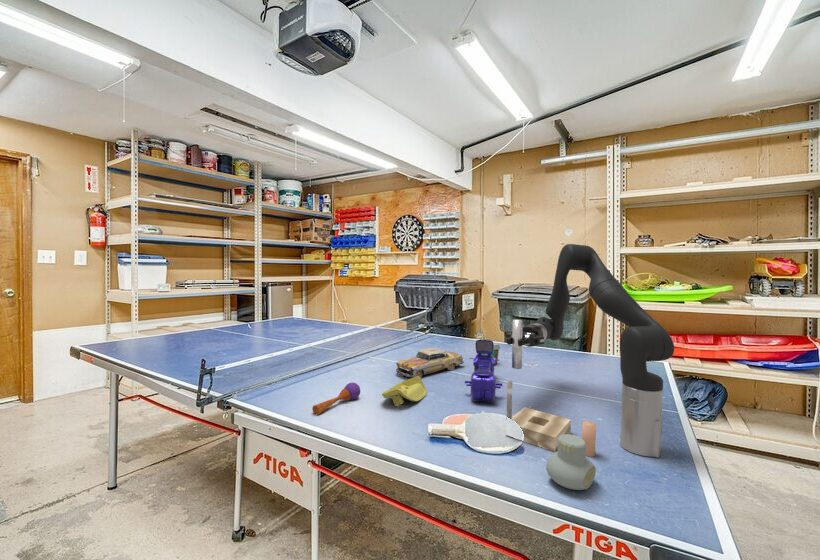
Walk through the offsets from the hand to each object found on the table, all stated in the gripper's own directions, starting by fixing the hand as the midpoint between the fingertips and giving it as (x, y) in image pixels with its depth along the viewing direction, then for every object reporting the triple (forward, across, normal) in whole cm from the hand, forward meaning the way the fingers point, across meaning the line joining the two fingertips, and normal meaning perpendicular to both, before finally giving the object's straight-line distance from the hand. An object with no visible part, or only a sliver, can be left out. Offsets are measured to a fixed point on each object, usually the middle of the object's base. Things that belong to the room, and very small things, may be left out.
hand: (513, 342), depth 120 cm
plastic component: (+14, -36, +24) cm, 45 cm away
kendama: (+32, -50, +24) cm, 64 cm away
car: (-20, -48, +24) cm, 57 cm away
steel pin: (-3, 0, +9) cm, 9 cm away
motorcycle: (-15, -19, +24) cm, 34 cm away
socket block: (+9, +12, +24) cm, 28 cm away
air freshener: (+27, +26, +25) cm, 45 cm away
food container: (-46, -34, +23) cm, 62 cm away
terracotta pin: (+11, +26, +24) cm, 37 cm away
